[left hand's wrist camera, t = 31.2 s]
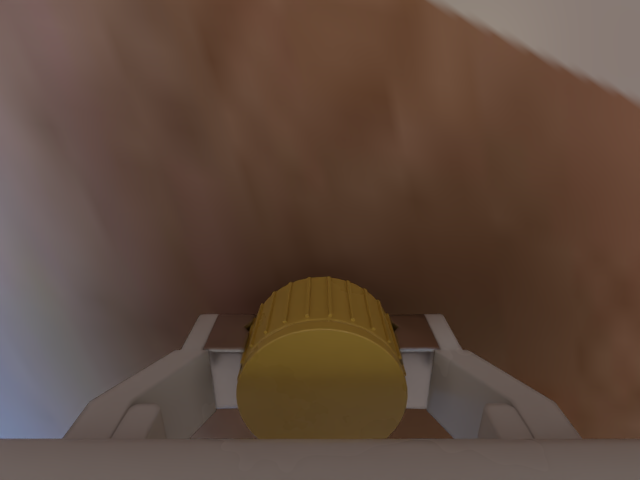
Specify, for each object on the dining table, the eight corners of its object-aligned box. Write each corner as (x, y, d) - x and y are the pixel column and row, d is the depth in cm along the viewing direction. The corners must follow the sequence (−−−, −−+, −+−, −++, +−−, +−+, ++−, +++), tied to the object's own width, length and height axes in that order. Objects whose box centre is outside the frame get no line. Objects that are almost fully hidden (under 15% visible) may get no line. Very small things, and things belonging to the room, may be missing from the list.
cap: (415, 354, 11) (440, 422, 8) (301, 409, 11) (297, 484, 9) (346, 247, 9) (353, 294, 7) (223, 317, 10) (197, 378, 8)
